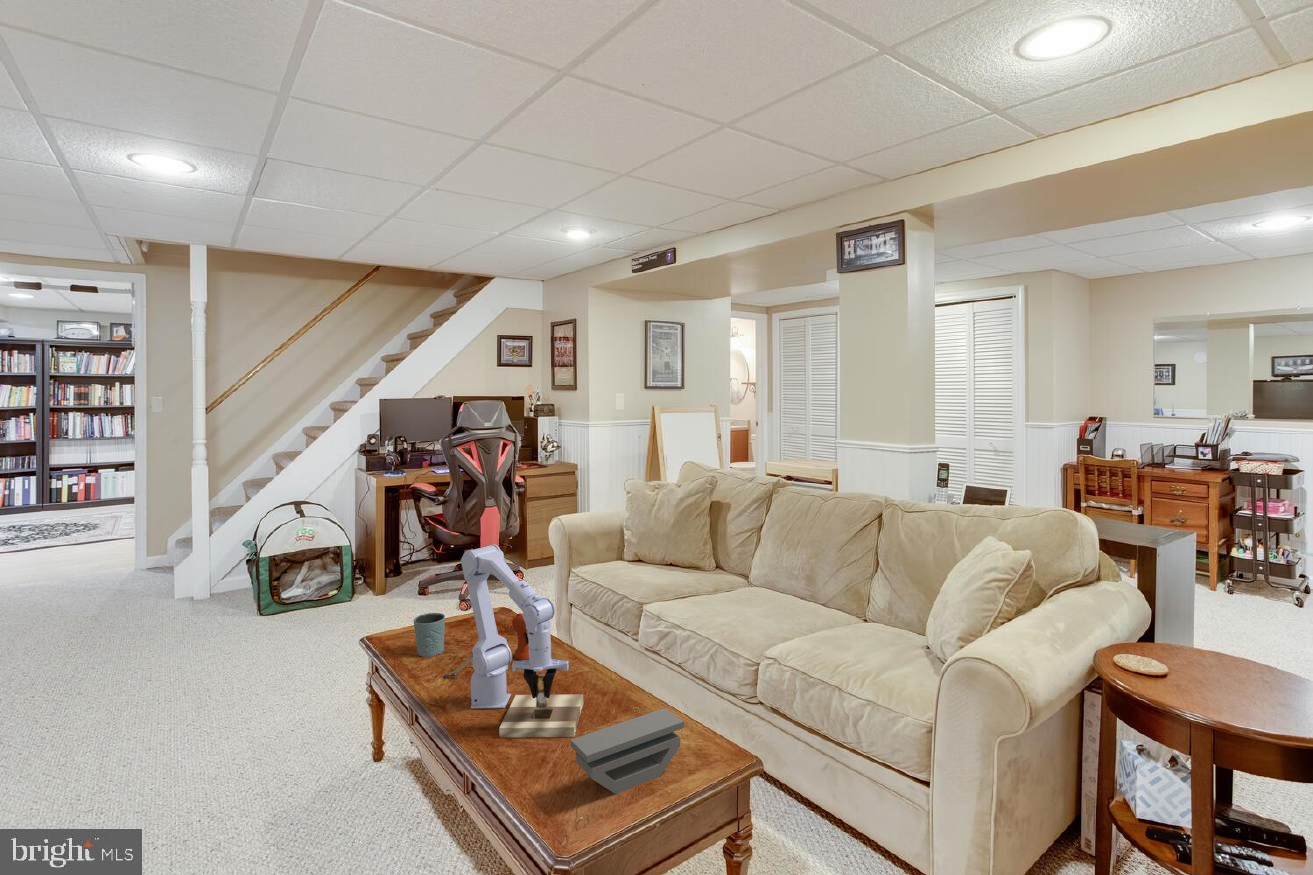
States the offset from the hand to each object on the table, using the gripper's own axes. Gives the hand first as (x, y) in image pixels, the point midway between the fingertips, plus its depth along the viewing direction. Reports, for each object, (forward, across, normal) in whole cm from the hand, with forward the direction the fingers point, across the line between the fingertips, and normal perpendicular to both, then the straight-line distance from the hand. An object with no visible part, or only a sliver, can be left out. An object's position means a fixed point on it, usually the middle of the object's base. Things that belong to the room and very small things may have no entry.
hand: (541, 696), depth 173 cm
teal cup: (+7, -47, +48) cm, 68 cm away
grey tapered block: (+8, +24, -24) cm, 35 cm away
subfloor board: (+7, 0, +2) cm, 8 cm away
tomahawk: (+8, -31, +38) cm, 49 cm away
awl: (+2, 0, 0) cm, 3 cm away
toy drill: (+7, -11, +40) cm, 42 cm away
